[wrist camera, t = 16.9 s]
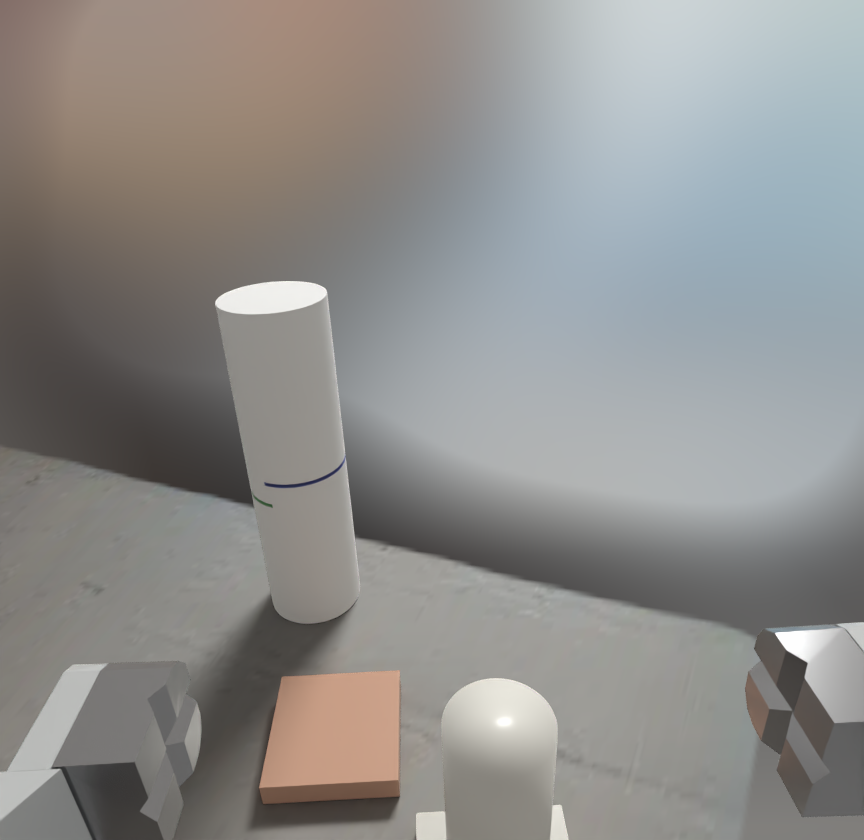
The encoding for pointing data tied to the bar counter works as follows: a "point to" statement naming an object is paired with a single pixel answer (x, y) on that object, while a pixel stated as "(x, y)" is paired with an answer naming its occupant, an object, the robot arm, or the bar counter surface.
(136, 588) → the bar counter surface
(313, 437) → the cylindrical container
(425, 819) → the stone pad
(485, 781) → the white rounded-top cylinder
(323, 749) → the terracotta pad
